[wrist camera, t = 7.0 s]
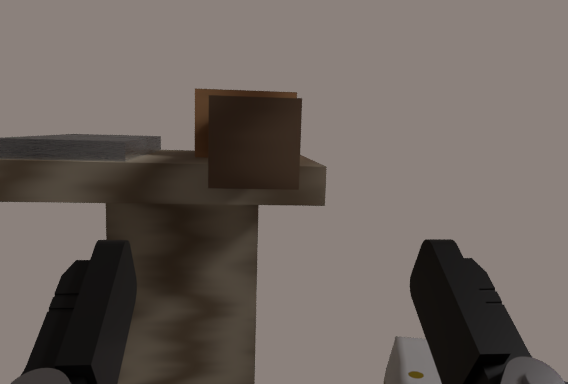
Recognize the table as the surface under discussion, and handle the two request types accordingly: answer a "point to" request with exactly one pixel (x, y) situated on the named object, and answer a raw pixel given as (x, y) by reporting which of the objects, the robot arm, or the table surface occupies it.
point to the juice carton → (411, 363)
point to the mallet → (249, 138)
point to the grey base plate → (79, 147)
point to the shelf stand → (175, 255)
